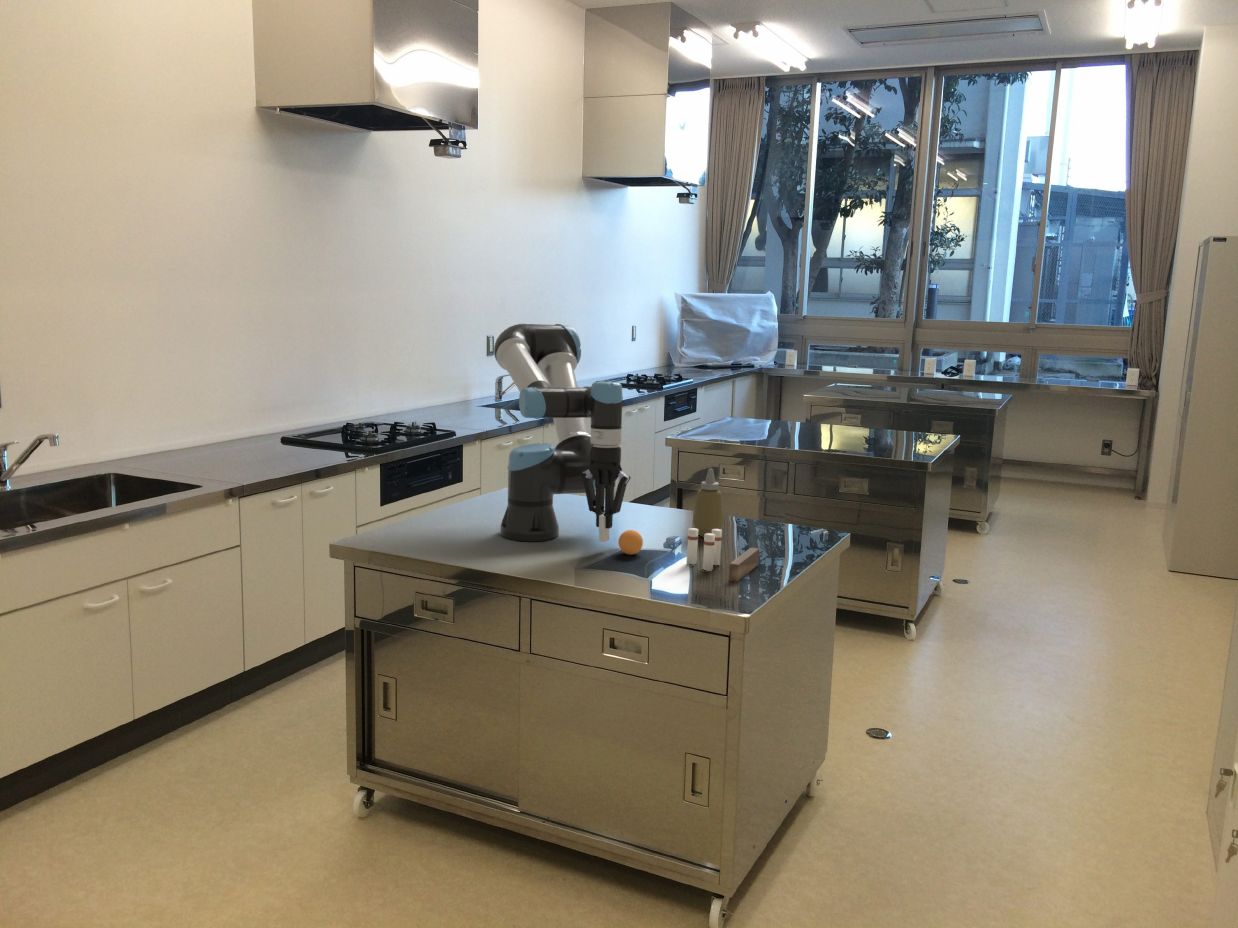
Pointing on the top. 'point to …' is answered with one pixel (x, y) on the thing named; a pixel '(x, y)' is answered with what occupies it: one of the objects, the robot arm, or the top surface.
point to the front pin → (692, 546)
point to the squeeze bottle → (708, 506)
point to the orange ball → (630, 542)
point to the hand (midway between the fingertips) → (603, 540)
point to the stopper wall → (743, 564)
